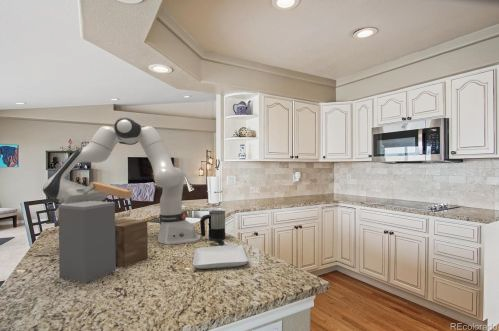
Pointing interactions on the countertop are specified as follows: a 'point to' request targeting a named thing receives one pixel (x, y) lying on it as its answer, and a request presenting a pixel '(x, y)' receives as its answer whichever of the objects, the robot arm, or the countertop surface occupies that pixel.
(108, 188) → the orange bar
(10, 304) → the countertop surface
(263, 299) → the countertop surface
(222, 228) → the milk frother
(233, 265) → the salad plate
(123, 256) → the wooden grain cube
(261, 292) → the countertop surface
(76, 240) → the graphite cabinet
